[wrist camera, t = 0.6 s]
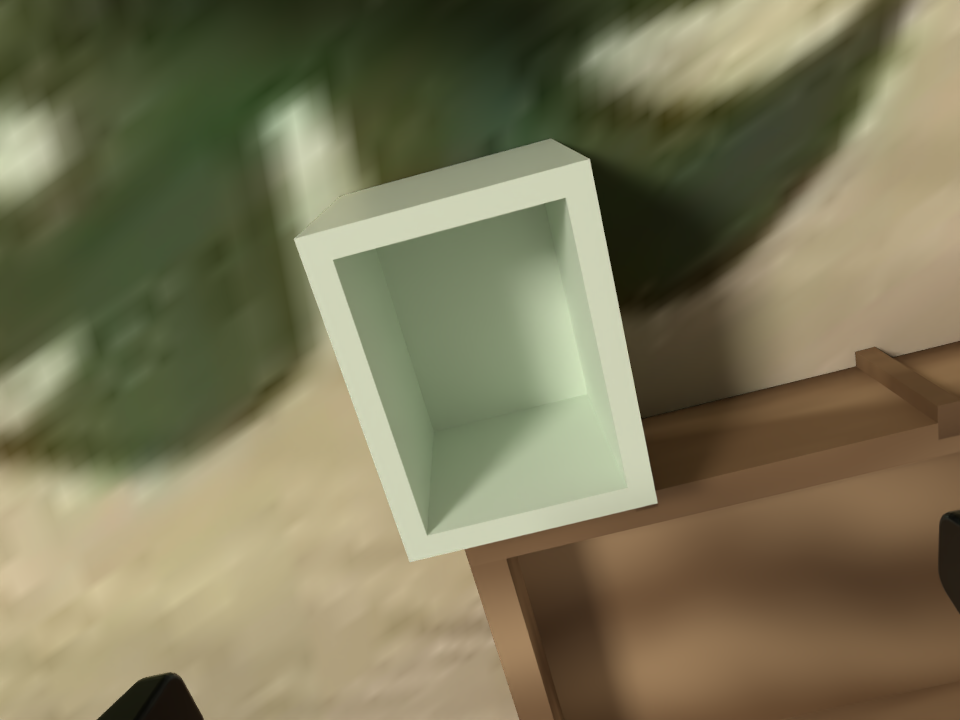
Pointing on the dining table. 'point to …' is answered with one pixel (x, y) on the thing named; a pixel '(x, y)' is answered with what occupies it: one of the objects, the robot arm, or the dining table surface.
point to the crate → (754, 563)
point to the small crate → (483, 347)
